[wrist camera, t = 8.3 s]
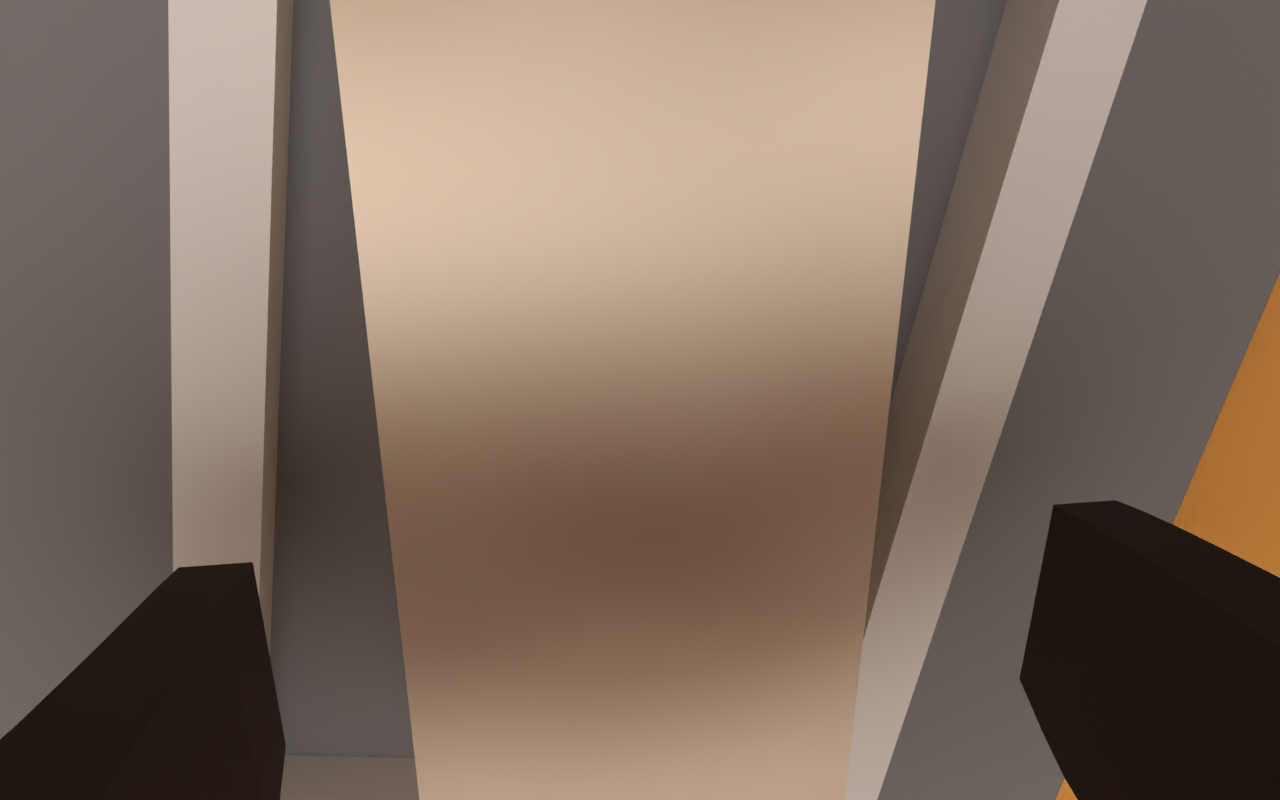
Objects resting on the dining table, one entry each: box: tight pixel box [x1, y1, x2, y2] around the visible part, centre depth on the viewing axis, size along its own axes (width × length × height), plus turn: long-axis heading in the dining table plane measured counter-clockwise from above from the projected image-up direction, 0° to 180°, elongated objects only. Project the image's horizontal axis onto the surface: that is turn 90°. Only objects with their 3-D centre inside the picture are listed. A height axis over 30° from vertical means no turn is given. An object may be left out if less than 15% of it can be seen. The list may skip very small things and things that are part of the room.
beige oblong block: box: [330, 0, 936, 800], centre depth 13 cm, size 10×5×4 cm, turn 0°
